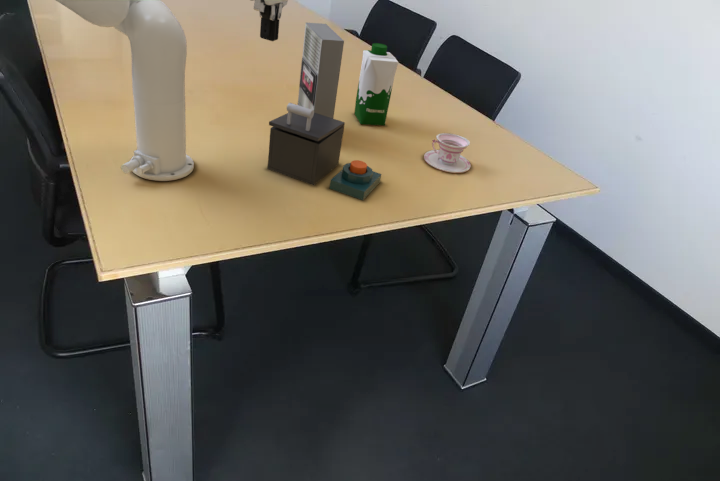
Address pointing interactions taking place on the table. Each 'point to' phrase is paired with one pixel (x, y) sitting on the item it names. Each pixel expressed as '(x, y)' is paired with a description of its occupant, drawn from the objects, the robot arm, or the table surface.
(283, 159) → the open dark grey box
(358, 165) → the button
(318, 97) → the ribbed grey cuboid
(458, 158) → the teacup
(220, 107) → the table surface
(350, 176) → the control block
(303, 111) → the lid
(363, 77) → the milk carton
